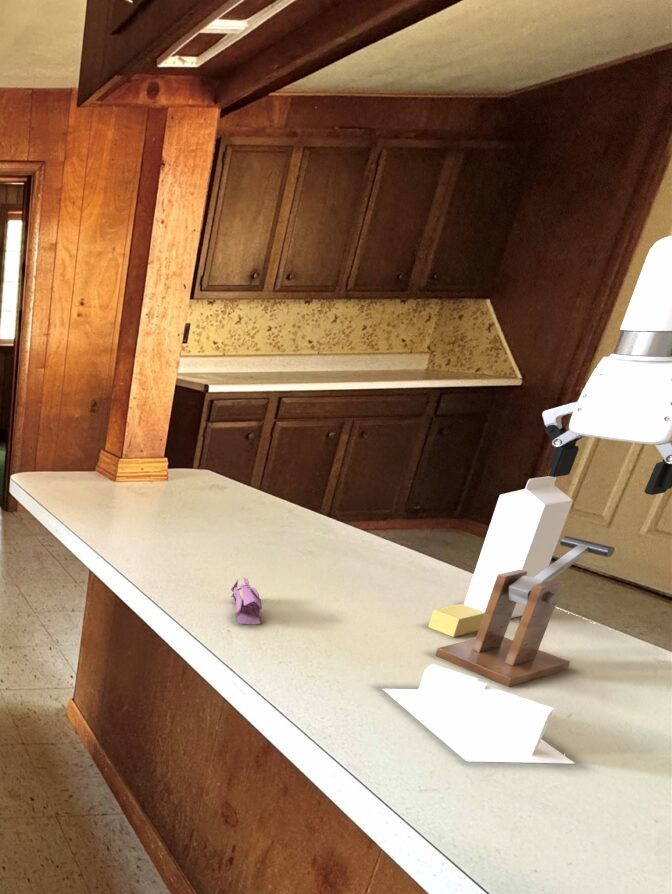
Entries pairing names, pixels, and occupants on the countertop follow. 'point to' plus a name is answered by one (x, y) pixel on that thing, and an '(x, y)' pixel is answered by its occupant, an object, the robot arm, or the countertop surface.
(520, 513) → the milk
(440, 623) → the butter
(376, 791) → the countertop surface
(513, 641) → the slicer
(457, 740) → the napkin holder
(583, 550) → the lever
